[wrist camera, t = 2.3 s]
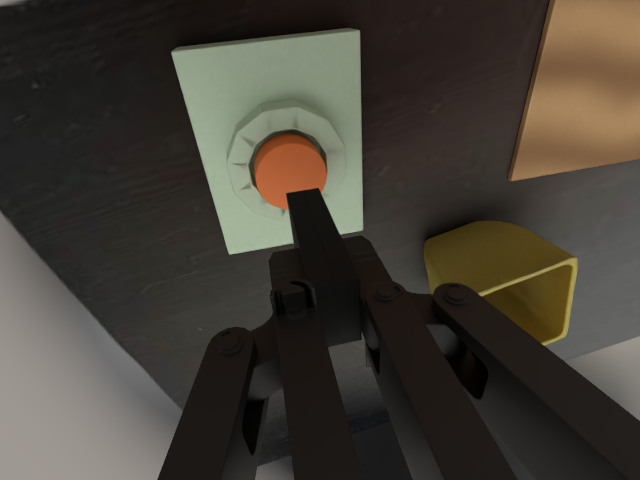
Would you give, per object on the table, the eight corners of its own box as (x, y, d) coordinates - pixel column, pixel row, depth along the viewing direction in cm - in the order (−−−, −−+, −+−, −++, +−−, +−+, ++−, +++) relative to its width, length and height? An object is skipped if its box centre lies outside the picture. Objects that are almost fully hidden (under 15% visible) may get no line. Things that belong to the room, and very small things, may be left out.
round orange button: (247, 138, 20) (249, 148, 18) (318, 128, 20) (324, 137, 19) (260, 201, 22) (262, 215, 21) (323, 191, 22) (329, 203, 21)
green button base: (176, 47, 20) (164, 55, 16) (349, 27, 21) (370, 31, 18) (229, 238, 27) (228, 270, 24) (355, 216, 28) (371, 244, 25)
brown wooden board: (563, -57, 21) (569, -58, 20) (762, -75, 22) (771, -76, 22) (507, 179, 29) (510, 181, 29) (654, 153, 31) (659, 155, 30)
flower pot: (414, 299, 35) (461, 377, 28) (398, 231, 30) (450, 305, 23) (497, 267, 35) (567, 337, 27) (495, 193, 30) (580, 255, 22)
